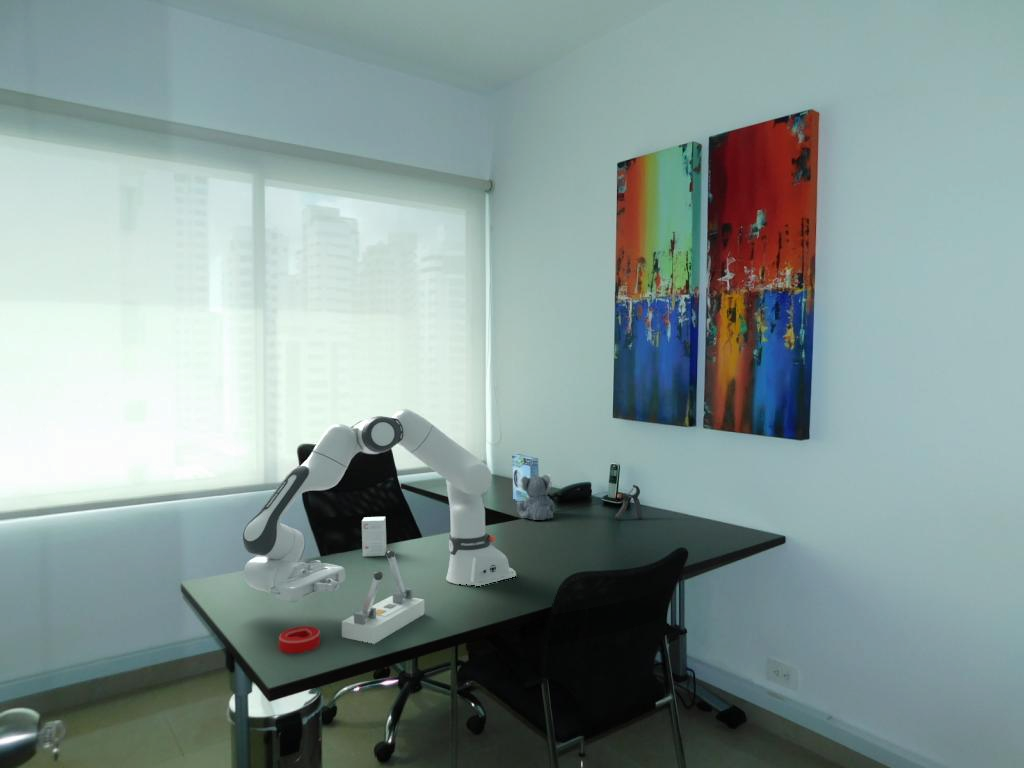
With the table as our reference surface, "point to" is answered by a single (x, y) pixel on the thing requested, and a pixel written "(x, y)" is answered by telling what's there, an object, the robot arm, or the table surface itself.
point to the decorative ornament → (299, 639)
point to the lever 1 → (372, 594)
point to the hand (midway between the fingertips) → (335, 587)
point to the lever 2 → (396, 574)
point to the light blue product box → (522, 473)
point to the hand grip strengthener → (626, 500)
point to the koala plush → (536, 498)
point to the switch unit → (383, 618)
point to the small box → (374, 536)
